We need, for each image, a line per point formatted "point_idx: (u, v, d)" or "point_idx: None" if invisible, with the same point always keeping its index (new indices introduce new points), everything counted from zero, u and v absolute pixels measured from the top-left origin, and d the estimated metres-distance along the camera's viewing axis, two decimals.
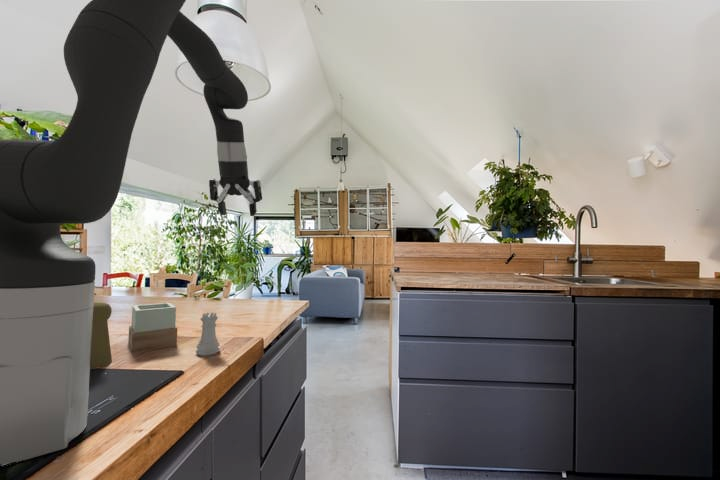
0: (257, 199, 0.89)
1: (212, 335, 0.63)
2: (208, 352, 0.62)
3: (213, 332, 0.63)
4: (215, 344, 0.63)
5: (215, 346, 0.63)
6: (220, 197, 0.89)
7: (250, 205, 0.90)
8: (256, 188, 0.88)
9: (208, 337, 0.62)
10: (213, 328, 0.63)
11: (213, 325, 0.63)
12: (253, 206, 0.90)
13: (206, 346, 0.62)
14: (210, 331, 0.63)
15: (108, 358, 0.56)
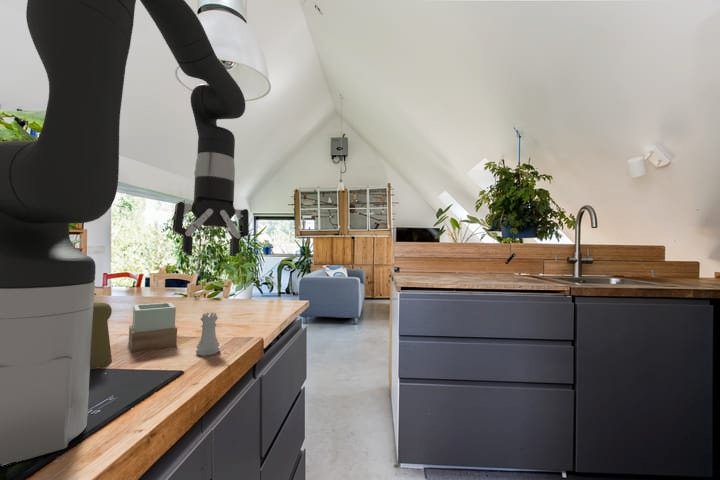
0: (246, 232, 0.68)
1: (212, 335, 0.63)
2: (208, 352, 0.62)
3: (213, 332, 0.63)
4: (215, 344, 0.63)
5: (215, 346, 0.63)
6: (192, 228, 0.61)
7: (235, 240, 0.66)
8: (246, 218, 0.68)
9: (208, 337, 0.62)
10: (213, 328, 0.63)
11: (213, 325, 0.63)
12: (237, 242, 0.67)
13: (206, 346, 0.62)
14: (210, 331, 0.63)
15: (108, 358, 0.56)
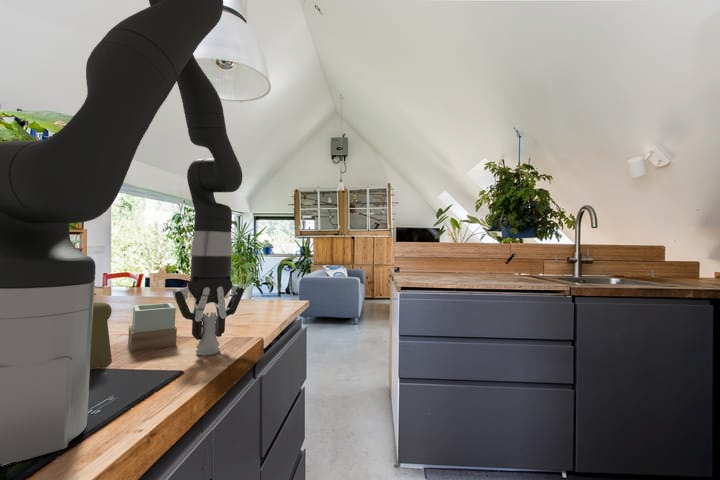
0: (232, 311, 0.66)
1: (212, 335, 0.63)
2: (208, 352, 0.62)
3: (213, 332, 0.63)
4: (215, 344, 0.63)
5: (215, 346, 0.63)
6: (201, 313, 0.62)
7: (220, 321, 0.64)
8: (239, 297, 0.67)
9: (208, 337, 0.62)
10: (213, 327, 0.63)
11: (213, 325, 0.63)
12: (223, 322, 0.65)
13: (206, 346, 0.62)
14: (210, 331, 0.63)
15: (108, 358, 0.56)
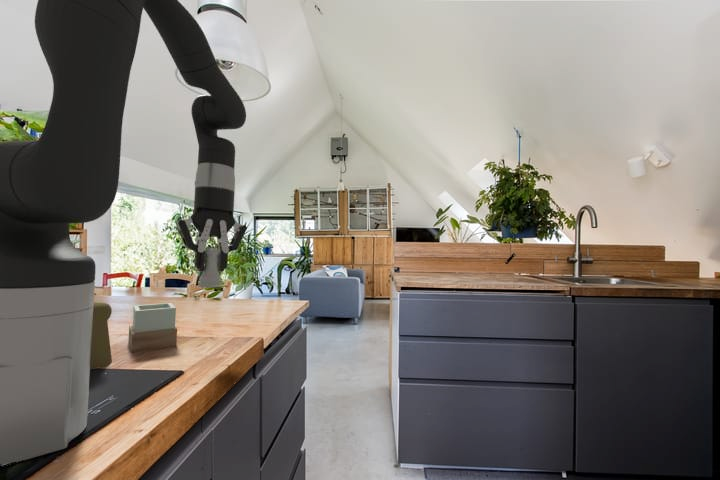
0: (234, 247, 0.66)
1: (214, 268, 0.63)
2: (211, 284, 0.62)
3: (215, 265, 0.64)
4: (218, 277, 0.63)
5: (217, 279, 0.63)
6: (204, 244, 0.62)
7: (223, 255, 0.65)
8: (241, 234, 0.67)
9: (211, 269, 0.63)
10: (216, 261, 0.64)
11: (215, 258, 0.64)
12: (225, 257, 0.65)
13: (208, 277, 0.62)
14: (212, 264, 0.63)
15: (108, 358, 0.56)
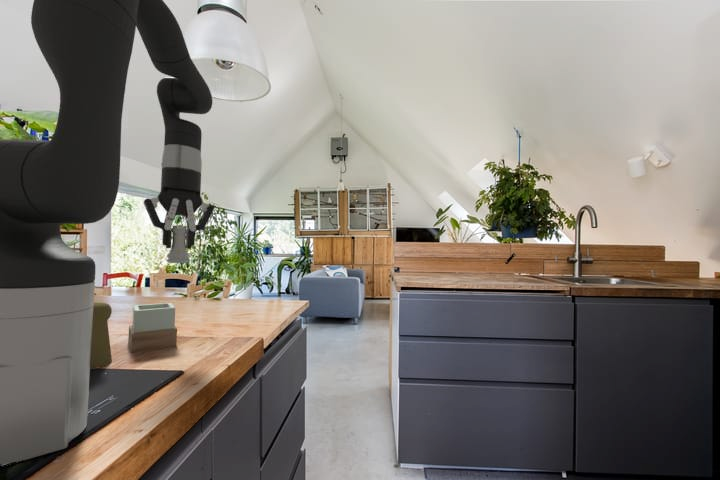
0: (202, 225, 0.69)
1: (182, 245, 0.67)
2: (178, 260, 0.65)
3: (183, 243, 0.67)
4: (185, 254, 0.67)
5: (184, 255, 0.66)
6: (171, 222, 0.65)
7: (190, 233, 0.68)
8: (208, 213, 0.70)
9: (178, 246, 0.66)
10: (183, 238, 0.67)
11: (183, 236, 0.67)
12: (193, 235, 0.69)
13: (175, 254, 0.65)
14: (179, 241, 0.66)
15: (108, 358, 0.56)
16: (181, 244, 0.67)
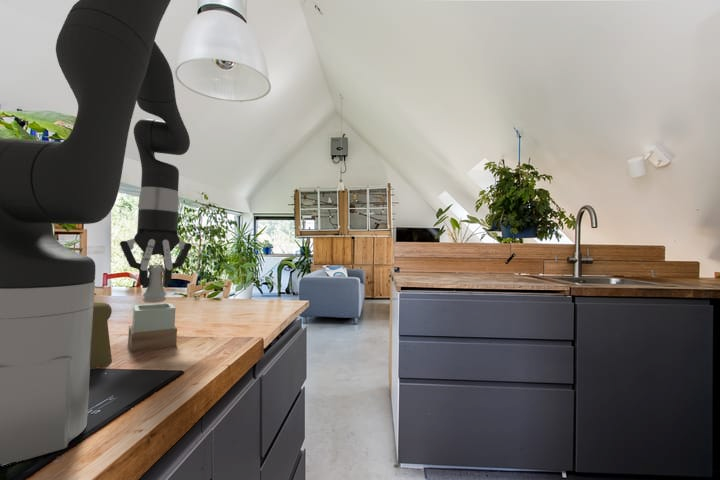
0: (178, 264, 0.70)
1: (158, 284, 0.68)
2: (154, 299, 0.67)
3: (159, 282, 0.68)
4: (161, 293, 0.68)
5: (161, 294, 0.68)
6: (147, 263, 0.67)
7: (166, 272, 0.69)
8: (186, 251, 0.71)
9: (154, 285, 0.67)
10: (159, 278, 0.68)
11: (159, 275, 0.68)
12: (170, 273, 0.70)
13: (151, 293, 0.67)
14: (155, 280, 0.68)
15: (108, 358, 0.56)
16: (157, 283, 0.68)
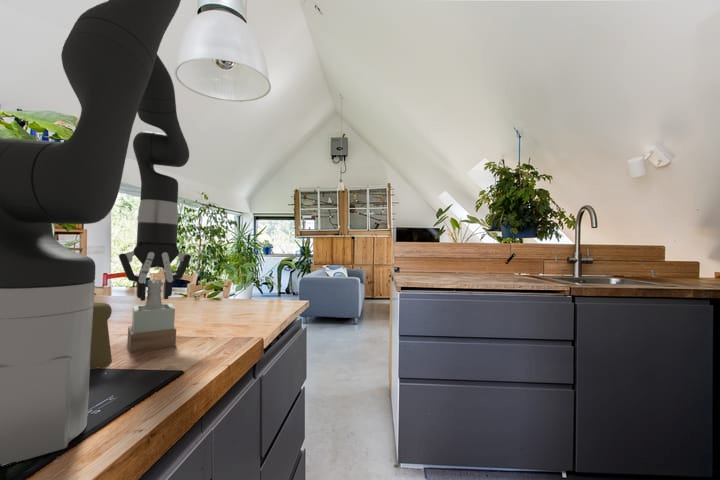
0: (179, 276, 0.71)
1: (156, 299, 0.68)
2: None
3: (158, 297, 0.68)
4: (160, 308, 0.68)
5: None
6: (145, 275, 0.66)
7: (167, 284, 0.69)
8: (185, 263, 0.71)
9: (152, 301, 0.67)
10: (158, 293, 0.68)
11: (158, 290, 0.68)
12: (170, 285, 0.70)
13: (149, 309, 0.66)
14: (154, 295, 0.67)
15: (108, 358, 0.56)
16: (156, 298, 0.68)
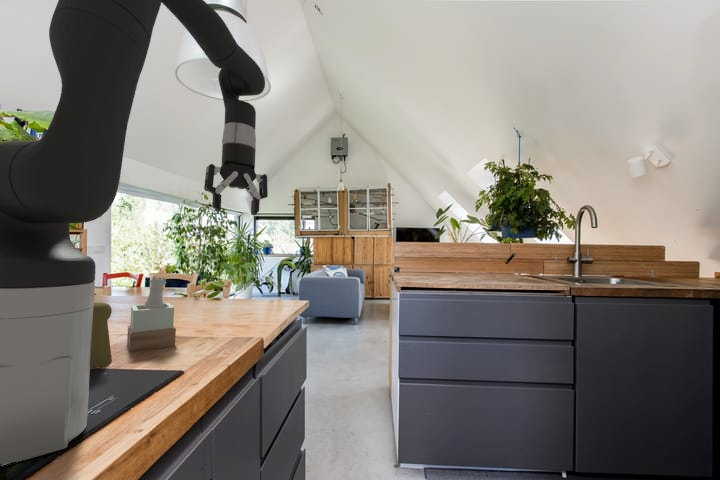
0: (265, 194, 0.78)
1: (161, 297, 0.69)
2: None
3: None
4: None
5: (164, 306, 0.69)
6: (221, 187, 0.71)
7: (256, 201, 0.76)
8: (265, 182, 0.78)
9: (159, 297, 0.69)
10: (162, 290, 0.70)
11: (163, 288, 0.70)
12: (258, 203, 0.77)
13: (158, 305, 0.68)
14: (161, 292, 0.69)
15: (108, 358, 0.56)
16: (161, 295, 0.69)
